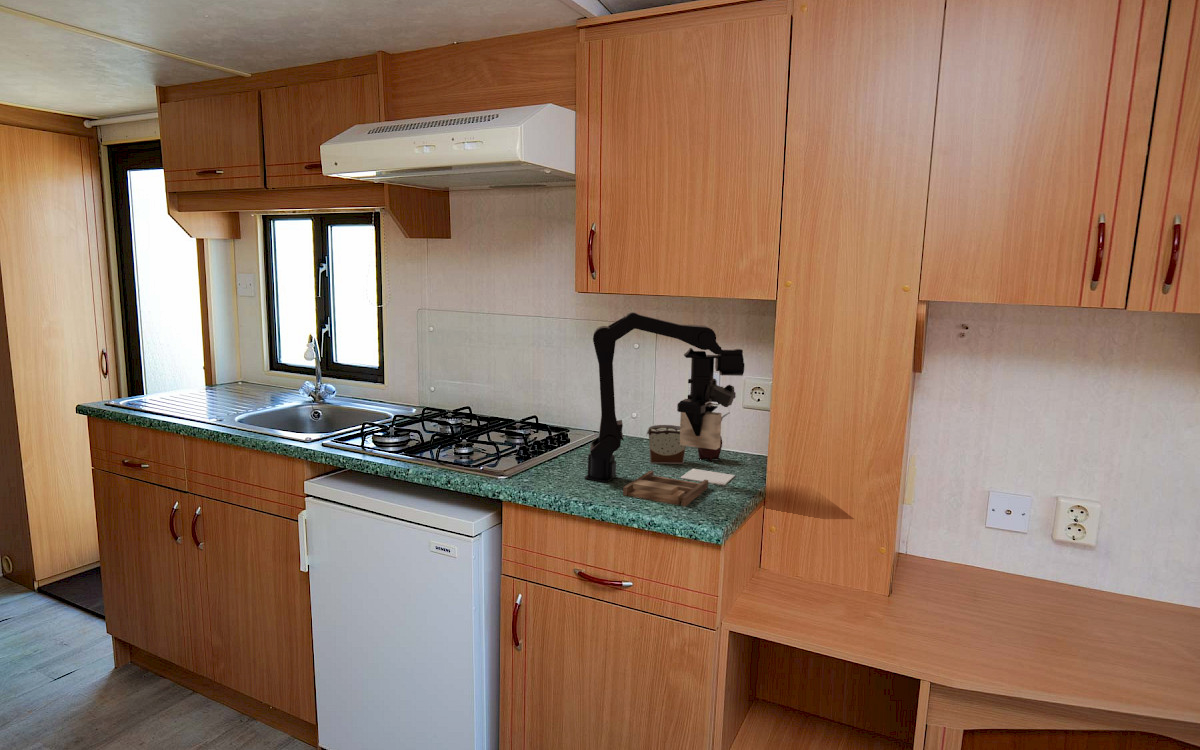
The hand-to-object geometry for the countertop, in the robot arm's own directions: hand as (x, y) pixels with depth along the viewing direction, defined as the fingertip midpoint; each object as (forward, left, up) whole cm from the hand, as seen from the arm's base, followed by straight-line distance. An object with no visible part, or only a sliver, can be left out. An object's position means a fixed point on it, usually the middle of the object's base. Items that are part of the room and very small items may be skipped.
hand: (700, 434), depth 184 cm
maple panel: (0, 0, -3) cm, 3 cm away
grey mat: (+1, +5, -12) cm, 13 cm away
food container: (-15, +15, -13) cm, 24 cm away
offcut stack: (-4, -19, -13) cm, 23 cm away
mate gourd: (-4, +23, -13) cm, 26 cm away
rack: (-4, -13, -12) cm, 19 cm away
